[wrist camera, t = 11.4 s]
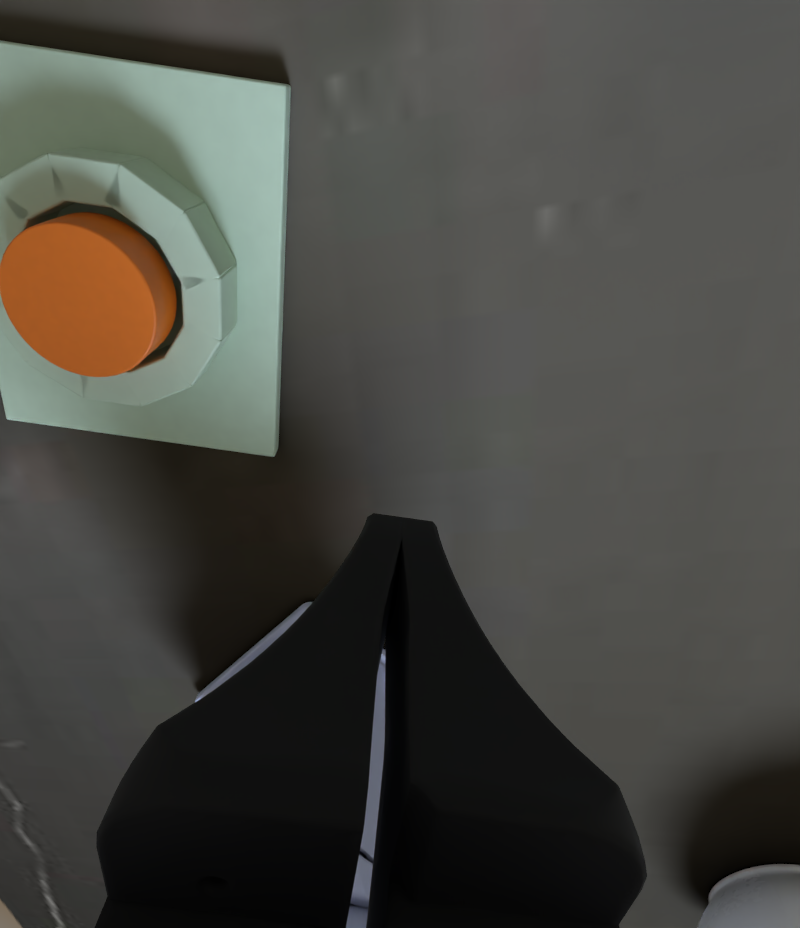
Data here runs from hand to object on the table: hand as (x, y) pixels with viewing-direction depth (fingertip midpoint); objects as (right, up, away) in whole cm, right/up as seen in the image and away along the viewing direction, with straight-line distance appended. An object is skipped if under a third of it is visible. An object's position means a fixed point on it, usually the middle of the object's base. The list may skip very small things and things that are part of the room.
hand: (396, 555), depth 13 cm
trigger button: (-9, +7, +6) cm, 13 cm away
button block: (-9, +8, +8) cm, 14 cm away
